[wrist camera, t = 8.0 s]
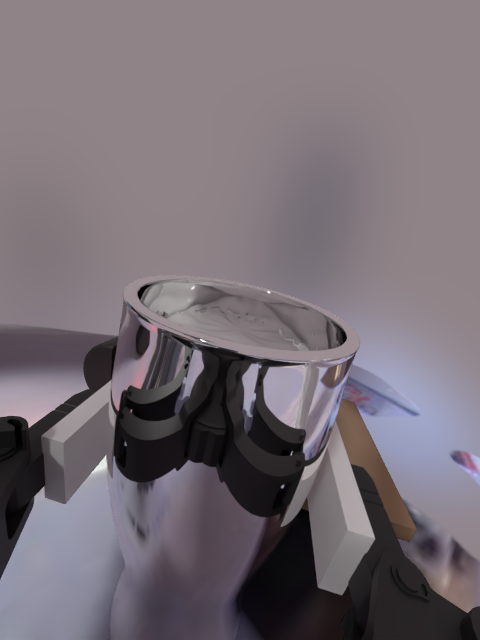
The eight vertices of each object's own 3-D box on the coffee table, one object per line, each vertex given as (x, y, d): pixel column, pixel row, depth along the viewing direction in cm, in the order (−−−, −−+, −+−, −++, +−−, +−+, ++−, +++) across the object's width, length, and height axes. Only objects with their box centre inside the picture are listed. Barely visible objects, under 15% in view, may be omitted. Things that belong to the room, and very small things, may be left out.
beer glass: (267, 561, 14) (363, 315, 9) (199, 804, 8) (390, 424, 3) (170, 494, 16) (207, 270, 11) (58, 637, 10) (39, 279, 5)
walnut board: (211, 481, 18) (214, 468, 17) (240, 380, 31) (241, 372, 30) (409, 541, 16) (417, 530, 16) (350, 410, 30) (354, 402, 29)
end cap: (150, 359, 31) (156, 310, 29) (200, 378, 30) (209, 327, 28) (81, 403, 22) (81, 335, 20) (148, 433, 20) (155, 363, 18)
